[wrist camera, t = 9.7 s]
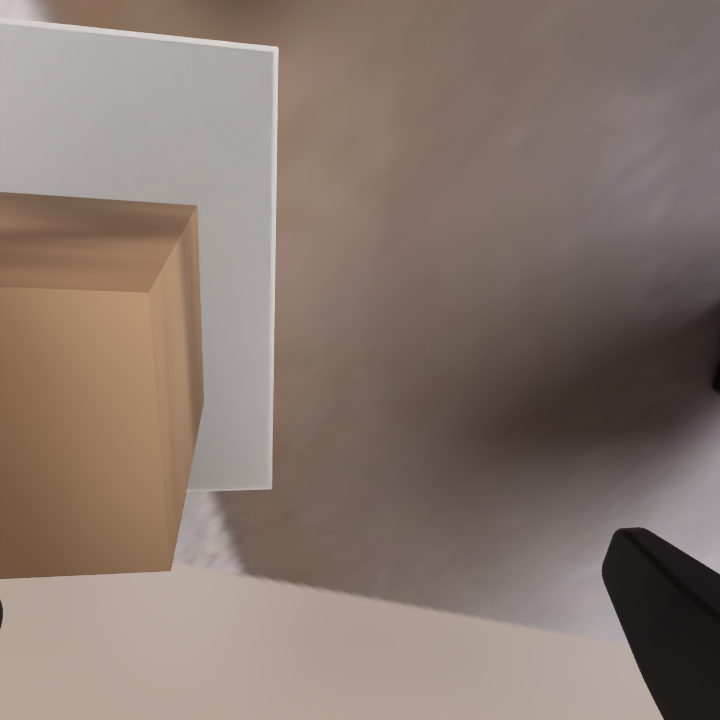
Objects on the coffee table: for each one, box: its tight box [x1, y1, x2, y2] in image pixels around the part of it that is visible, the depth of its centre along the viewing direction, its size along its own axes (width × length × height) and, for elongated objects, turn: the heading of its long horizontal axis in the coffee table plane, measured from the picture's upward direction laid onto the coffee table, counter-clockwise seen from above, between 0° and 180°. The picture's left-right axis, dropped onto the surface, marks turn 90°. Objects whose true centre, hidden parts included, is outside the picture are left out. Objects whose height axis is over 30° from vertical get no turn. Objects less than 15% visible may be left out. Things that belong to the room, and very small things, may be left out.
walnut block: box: [0, 192, 204, 579], centre depth 11 cm, size 6×6×6 cm
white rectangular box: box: [0, 18, 278, 492], centre depth 15 cm, size 9×12×4 cm
